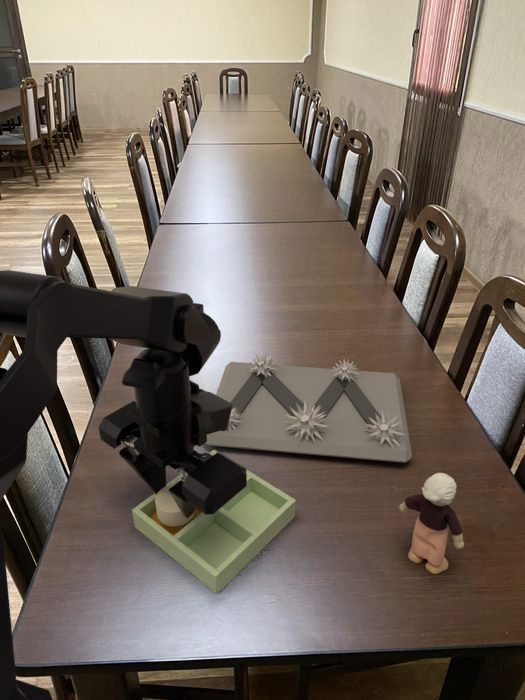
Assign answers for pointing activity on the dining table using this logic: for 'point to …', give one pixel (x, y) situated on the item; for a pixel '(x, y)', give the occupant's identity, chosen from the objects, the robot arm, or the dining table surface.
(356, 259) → the dining table surface
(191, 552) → the grid
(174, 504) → the cylinder
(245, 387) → the decorative plate
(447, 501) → the grandmother figurine
